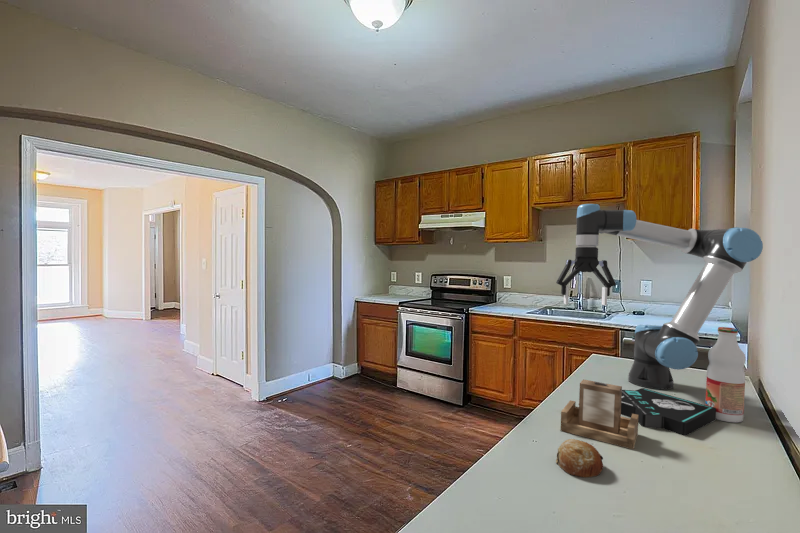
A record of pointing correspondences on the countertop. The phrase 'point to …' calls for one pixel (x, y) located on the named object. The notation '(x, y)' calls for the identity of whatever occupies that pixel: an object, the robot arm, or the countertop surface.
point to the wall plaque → (666, 411)
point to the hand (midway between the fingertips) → (584, 304)
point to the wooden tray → (623, 438)
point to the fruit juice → (726, 377)
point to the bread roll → (579, 458)
